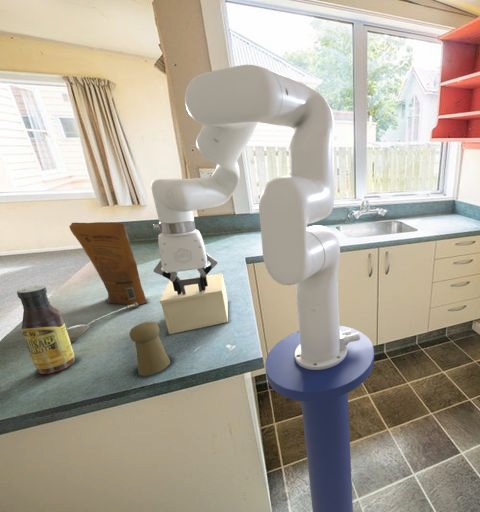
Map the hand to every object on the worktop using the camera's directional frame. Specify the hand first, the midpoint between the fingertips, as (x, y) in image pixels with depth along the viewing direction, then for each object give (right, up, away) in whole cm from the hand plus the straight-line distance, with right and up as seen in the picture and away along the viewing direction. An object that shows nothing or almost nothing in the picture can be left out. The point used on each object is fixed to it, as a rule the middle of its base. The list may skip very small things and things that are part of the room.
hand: (192, 290), depth 83 cm
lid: (-2, 0, +5) cm, 6 cm away
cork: (0, -16, -14) cm, 21 cm away
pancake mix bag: (-34, -6, +18) cm, 39 cm away
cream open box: (-3, -9, +9) cm, 13 cm away
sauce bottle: (-22, -16, -14) cm, 31 cm away
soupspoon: (-29, -11, +4) cm, 32 cm away
